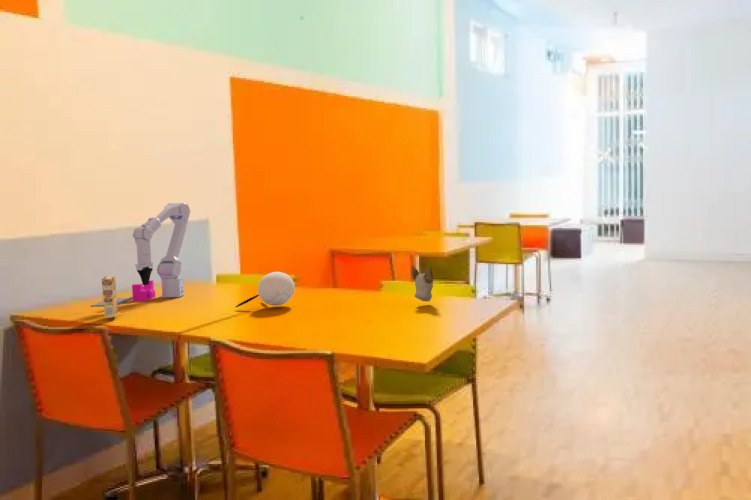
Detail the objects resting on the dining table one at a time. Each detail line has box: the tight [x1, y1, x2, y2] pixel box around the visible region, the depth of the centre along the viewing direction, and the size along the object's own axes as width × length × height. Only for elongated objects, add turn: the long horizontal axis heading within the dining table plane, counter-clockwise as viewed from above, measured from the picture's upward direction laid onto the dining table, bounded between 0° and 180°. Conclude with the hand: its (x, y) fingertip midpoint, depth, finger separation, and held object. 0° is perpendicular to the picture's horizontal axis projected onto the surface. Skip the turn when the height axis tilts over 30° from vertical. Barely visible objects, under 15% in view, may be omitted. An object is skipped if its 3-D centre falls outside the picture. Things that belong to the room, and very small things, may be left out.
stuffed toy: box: [235, 271, 295, 308], centre depth 295 cm, size 19×14×25 cm
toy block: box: [131, 279, 156, 302], centre depth 327 cm, size 15×6×8 cm, turn 175°
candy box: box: [101, 275, 119, 319], centre depth 282 cm, size 9×4×15 cm, turn 13°
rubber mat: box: [90, 295, 133, 307], centre depth 318 cm, size 11×20×1 cm, turn 177°
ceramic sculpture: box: [410, 265, 434, 302], centre depth 289 cm, size 11×9×15 cm
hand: (145, 284), depth 317 cm, fingers closed
